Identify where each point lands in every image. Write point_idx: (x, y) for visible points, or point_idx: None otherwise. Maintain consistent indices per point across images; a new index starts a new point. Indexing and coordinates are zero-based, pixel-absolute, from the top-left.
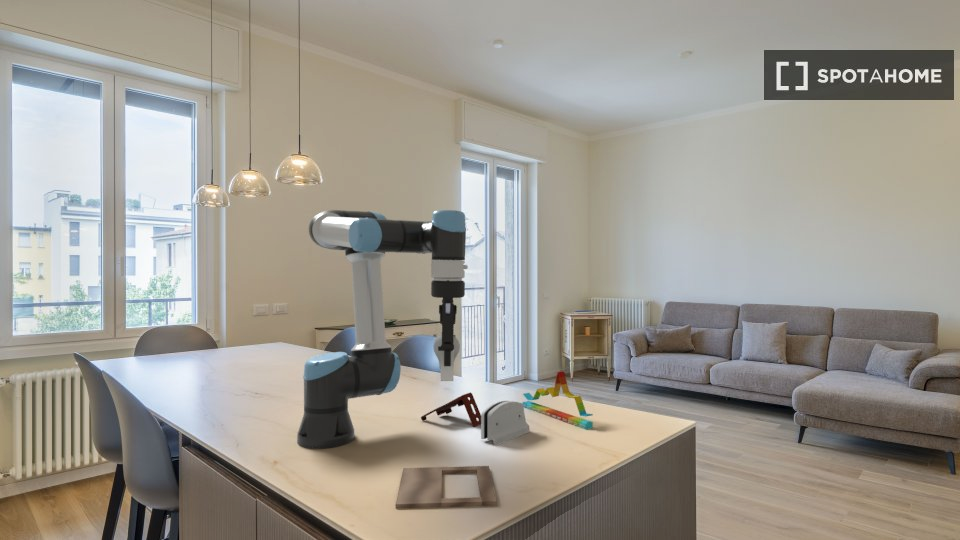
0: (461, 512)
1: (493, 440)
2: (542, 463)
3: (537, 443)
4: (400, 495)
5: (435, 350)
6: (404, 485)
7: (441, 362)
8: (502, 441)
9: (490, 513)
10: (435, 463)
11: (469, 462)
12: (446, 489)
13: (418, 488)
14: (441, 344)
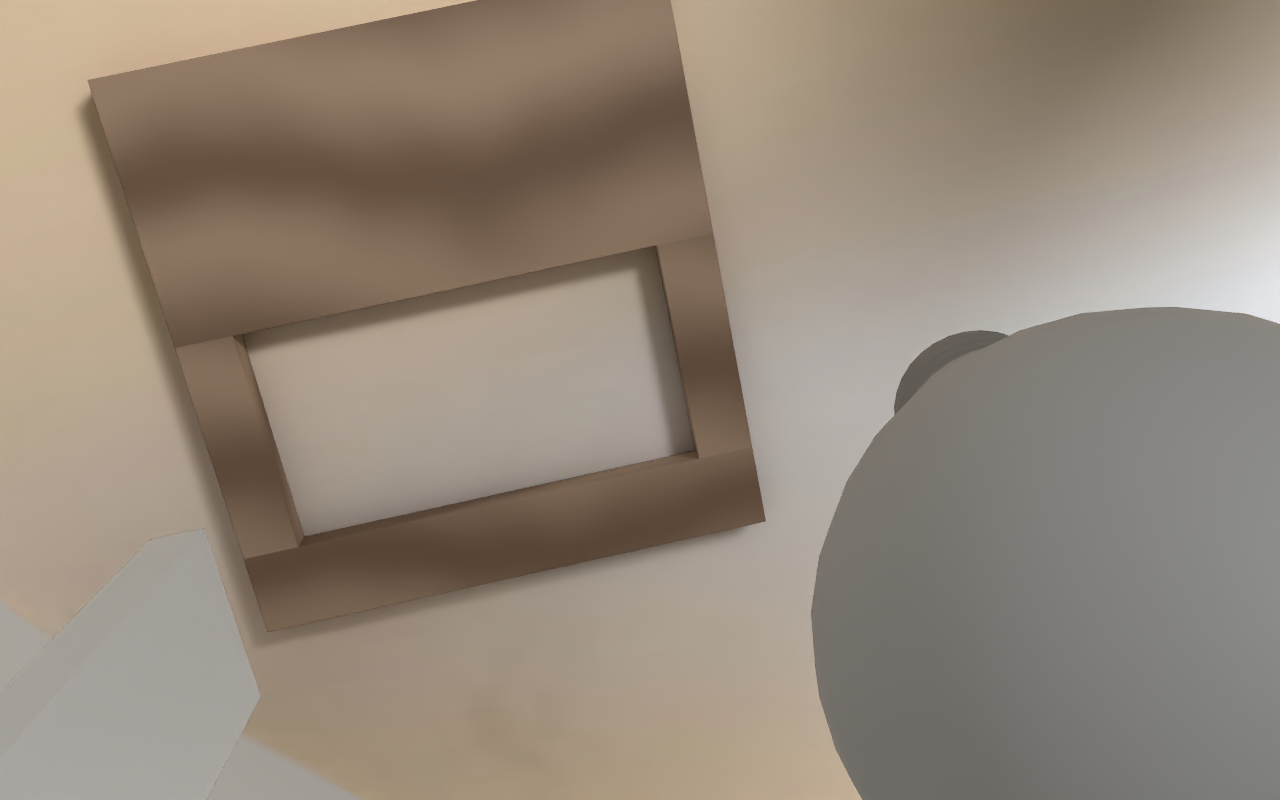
0: (159, 458)
1: None
2: None
3: None
4: (214, 75)
5: (924, 398)
6: (369, 58)
7: (4, 704)
8: None
9: None
10: (843, 155)
11: (878, 375)
12: (437, 317)
13: (343, 162)
14: (881, 636)
